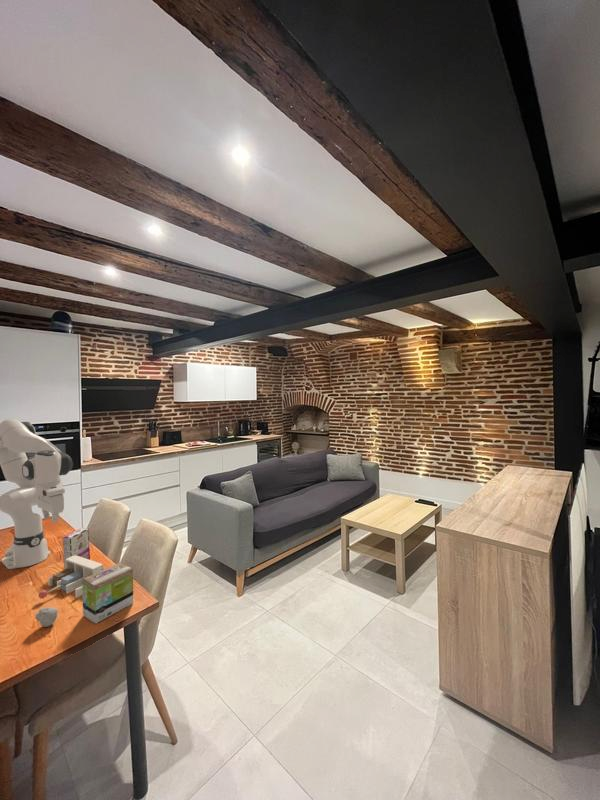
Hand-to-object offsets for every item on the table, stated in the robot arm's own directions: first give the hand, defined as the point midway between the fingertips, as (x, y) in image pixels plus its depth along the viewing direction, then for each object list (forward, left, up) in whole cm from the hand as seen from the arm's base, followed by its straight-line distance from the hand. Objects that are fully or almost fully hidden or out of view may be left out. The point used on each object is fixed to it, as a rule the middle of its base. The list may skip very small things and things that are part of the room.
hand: (50, 520), depth 147 cm
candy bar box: (-15, +19, -32) cm, 40 cm away
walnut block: (-3, +6, -32) cm, 32 cm away
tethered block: (+3, +1, -32) cm, 32 cm away
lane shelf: (+3, +8, -31) cm, 32 cm away
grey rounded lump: (+22, -13, -32) cm, 41 cm away
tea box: (+34, +3, -32) cm, 46 cm away
